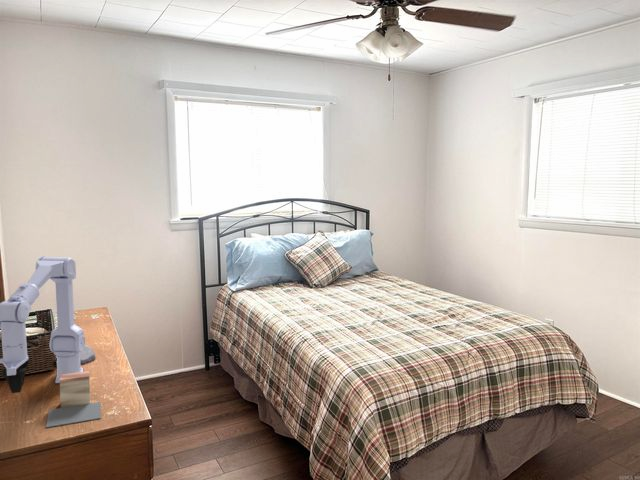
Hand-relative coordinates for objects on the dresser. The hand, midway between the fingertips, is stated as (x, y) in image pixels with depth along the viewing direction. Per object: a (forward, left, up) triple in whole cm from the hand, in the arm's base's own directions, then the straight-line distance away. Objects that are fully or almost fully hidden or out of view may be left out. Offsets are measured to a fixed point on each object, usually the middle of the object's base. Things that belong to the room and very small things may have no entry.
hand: (17, 388), depth 134 cm
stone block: (-42, +13, -11) cm, 45 cm away
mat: (0, +14, -10) cm, 17 cm away
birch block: (-7, +14, -10) cm, 19 cm away
